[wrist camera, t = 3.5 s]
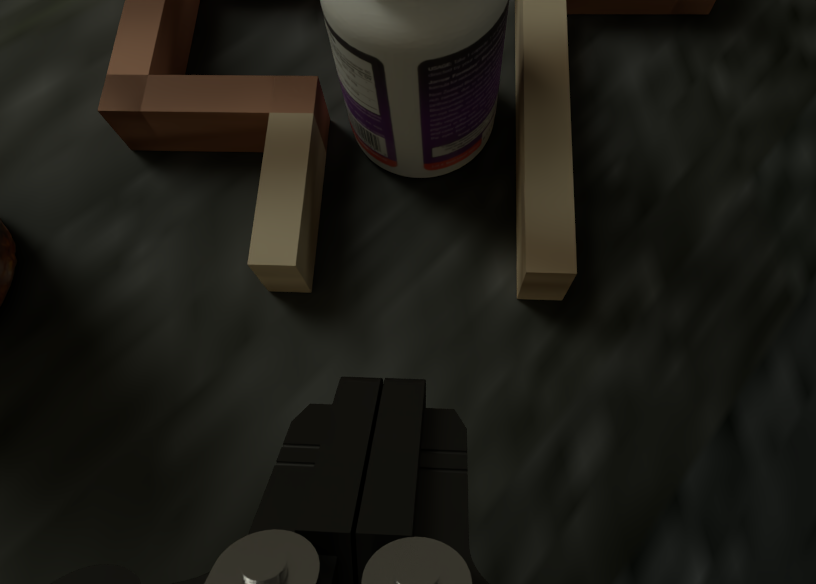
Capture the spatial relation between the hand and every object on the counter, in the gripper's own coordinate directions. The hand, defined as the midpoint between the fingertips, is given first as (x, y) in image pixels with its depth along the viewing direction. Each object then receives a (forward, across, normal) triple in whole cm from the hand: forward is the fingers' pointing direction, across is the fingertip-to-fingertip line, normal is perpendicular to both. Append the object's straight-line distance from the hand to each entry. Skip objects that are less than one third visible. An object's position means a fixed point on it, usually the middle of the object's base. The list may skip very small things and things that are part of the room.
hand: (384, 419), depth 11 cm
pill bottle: (+15, 0, -2) cm, 15 cm away
